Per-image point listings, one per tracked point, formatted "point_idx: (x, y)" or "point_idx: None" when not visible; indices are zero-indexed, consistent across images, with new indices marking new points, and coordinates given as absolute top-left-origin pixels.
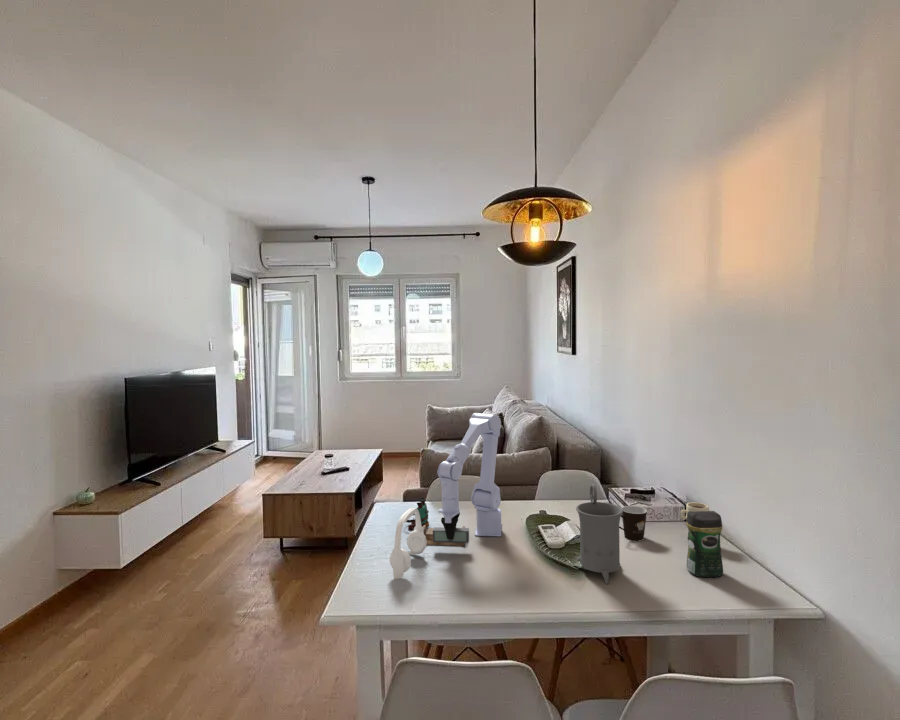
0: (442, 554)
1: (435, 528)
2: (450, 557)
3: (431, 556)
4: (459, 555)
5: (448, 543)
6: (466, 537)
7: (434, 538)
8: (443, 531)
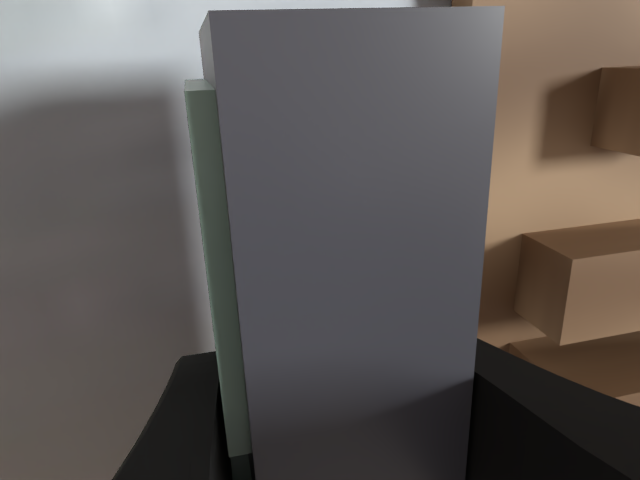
0: (145, 191)
1: (406, 78)
2: (72, 313)
3: (26, 42)
4: (162, 392)
5: None
6: None
7: (204, 69)
8: (238, 348)
